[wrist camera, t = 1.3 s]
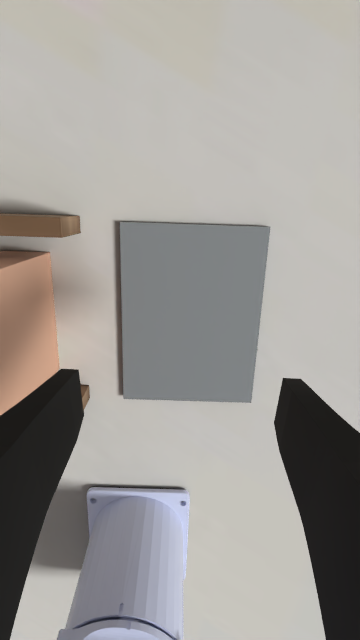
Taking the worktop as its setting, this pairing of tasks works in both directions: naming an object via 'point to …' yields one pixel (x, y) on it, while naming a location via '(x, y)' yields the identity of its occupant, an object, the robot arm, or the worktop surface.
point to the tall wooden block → (26, 325)
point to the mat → (191, 309)
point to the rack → (42, 228)
